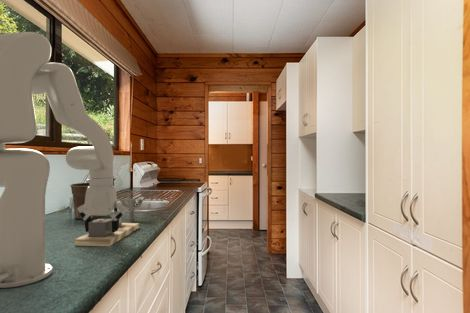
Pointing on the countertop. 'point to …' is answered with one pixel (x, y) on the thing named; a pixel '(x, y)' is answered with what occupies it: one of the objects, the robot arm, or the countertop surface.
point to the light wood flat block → (109, 240)
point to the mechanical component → (131, 205)
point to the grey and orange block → (100, 228)
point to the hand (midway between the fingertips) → (102, 231)
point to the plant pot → (79, 197)
